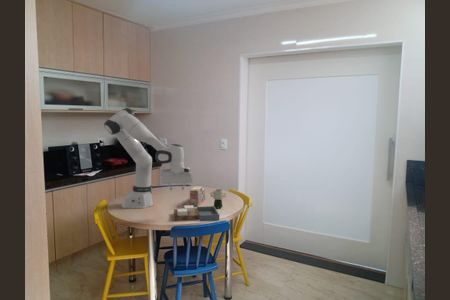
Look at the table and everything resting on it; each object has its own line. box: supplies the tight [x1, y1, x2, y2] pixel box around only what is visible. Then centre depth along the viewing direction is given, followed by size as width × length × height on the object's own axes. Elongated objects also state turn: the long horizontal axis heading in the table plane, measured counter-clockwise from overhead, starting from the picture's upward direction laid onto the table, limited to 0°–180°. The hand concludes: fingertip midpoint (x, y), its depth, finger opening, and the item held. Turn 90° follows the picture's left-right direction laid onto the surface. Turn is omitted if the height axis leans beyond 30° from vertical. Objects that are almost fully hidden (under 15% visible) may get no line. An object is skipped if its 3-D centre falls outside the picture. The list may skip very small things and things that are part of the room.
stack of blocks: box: [189, 185, 206, 208], centre depth 235 cm, size 21×6×12 cm, turn 170°
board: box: [173, 207, 200, 222], centre depth 202 cm, size 16×15×3 cm
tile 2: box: [176, 208, 187, 216], centre depth 198 cm, size 6×6×2 cm
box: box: [196, 205, 220, 222], centre depth 205 cm, size 12×19×3 cm, turn 12°
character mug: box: [210, 188, 227, 209], centre depth 223 cm, size 11×7×13 cm, turn 92°
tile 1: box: [183, 204, 195, 212], centre depth 206 cm, size 6×6×2 cm
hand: (176, 189), depth 203 cm, fingers open, 6 cm apart
